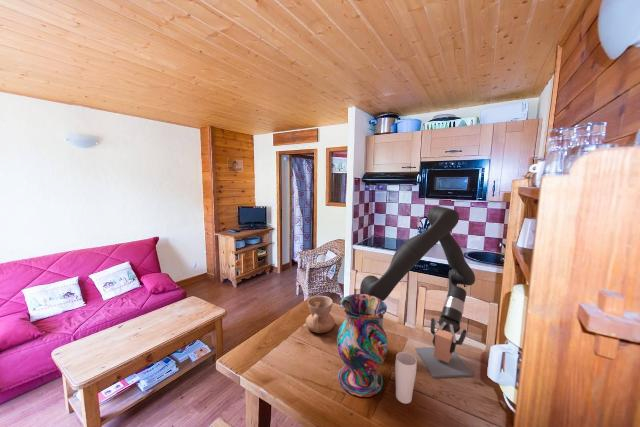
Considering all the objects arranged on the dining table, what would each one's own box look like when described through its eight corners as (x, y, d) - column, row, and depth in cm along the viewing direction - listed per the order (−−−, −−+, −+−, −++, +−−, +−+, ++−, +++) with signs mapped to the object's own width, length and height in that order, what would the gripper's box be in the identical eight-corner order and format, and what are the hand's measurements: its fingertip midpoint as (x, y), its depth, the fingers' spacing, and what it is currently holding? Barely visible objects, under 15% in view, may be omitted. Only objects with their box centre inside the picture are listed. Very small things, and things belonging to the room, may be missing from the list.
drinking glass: (390, 390, 90) (392, 351, 88) (408, 389, 91) (411, 351, 88) (397, 407, 83) (400, 366, 81) (417, 406, 84) (420, 365, 82)
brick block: (448, 363, 100) (450, 340, 99) (433, 356, 104) (435, 334, 102) (452, 355, 104) (454, 333, 103) (437, 349, 108) (439, 328, 107)
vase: (371, 410, 82) (376, 324, 78) (326, 382, 93) (327, 305, 89) (393, 375, 97) (397, 302, 92) (351, 355, 108) (353, 288, 103)
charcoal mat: (433, 377, 96) (433, 375, 96) (414, 349, 112) (415, 347, 112) (473, 376, 97) (473, 374, 97) (449, 348, 113) (449, 346, 113)
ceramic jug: (312, 316, 137) (311, 291, 135) (338, 320, 133) (338, 295, 131) (299, 336, 120) (299, 308, 118) (329, 342, 116) (329, 313, 114)
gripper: (433, 301, 112) (422, 338, 104) (471, 312, 102) (461, 355, 95) (436, 307, 116) (426, 344, 109) (472, 319, 107) (463, 360, 100)
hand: (442, 349), depth 102 cm, fingers closed on brick block, 5 cm apart
